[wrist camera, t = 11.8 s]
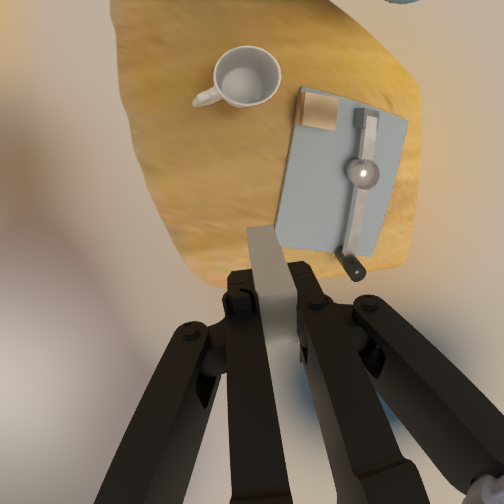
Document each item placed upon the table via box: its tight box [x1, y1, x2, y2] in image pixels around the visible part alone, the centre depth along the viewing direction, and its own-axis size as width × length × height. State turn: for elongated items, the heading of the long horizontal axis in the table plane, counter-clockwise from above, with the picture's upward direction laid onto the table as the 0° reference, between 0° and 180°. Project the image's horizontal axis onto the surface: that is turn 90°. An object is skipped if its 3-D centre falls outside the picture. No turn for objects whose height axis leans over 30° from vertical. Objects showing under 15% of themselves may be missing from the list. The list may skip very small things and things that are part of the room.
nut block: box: [294, 92, 339, 131], centre depth 33 cm, size 4×4×4 cm
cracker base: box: [274, 86, 408, 257], centre depth 40 cm, size 25×18×3 cm
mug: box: [192, 46, 281, 108], centre depth 29 cm, size 10×7×12 cm, turn 114°
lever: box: [335, 108, 380, 282], centre depth 37 cm, size 25×4×7 cm, turn 177°
